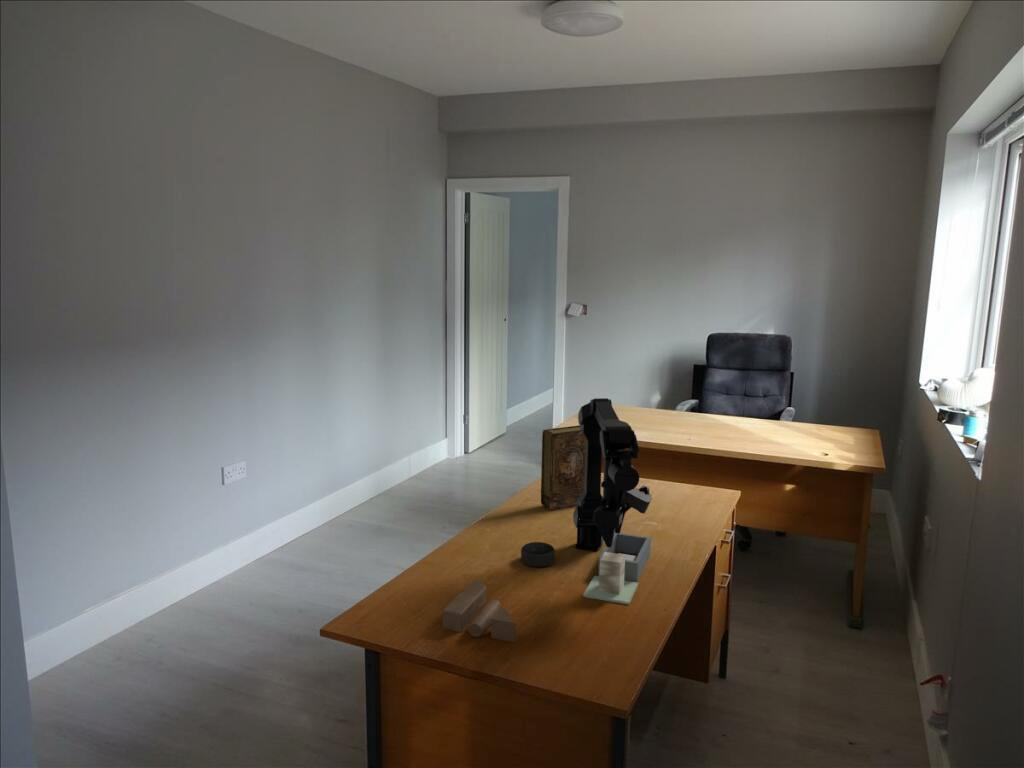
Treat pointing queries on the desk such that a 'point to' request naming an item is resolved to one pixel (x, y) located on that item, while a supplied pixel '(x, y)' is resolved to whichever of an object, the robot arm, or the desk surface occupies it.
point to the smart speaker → (537, 554)
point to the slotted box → (632, 546)
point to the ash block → (612, 573)
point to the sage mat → (622, 598)
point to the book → (562, 467)
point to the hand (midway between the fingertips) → (613, 539)
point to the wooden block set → (466, 610)
